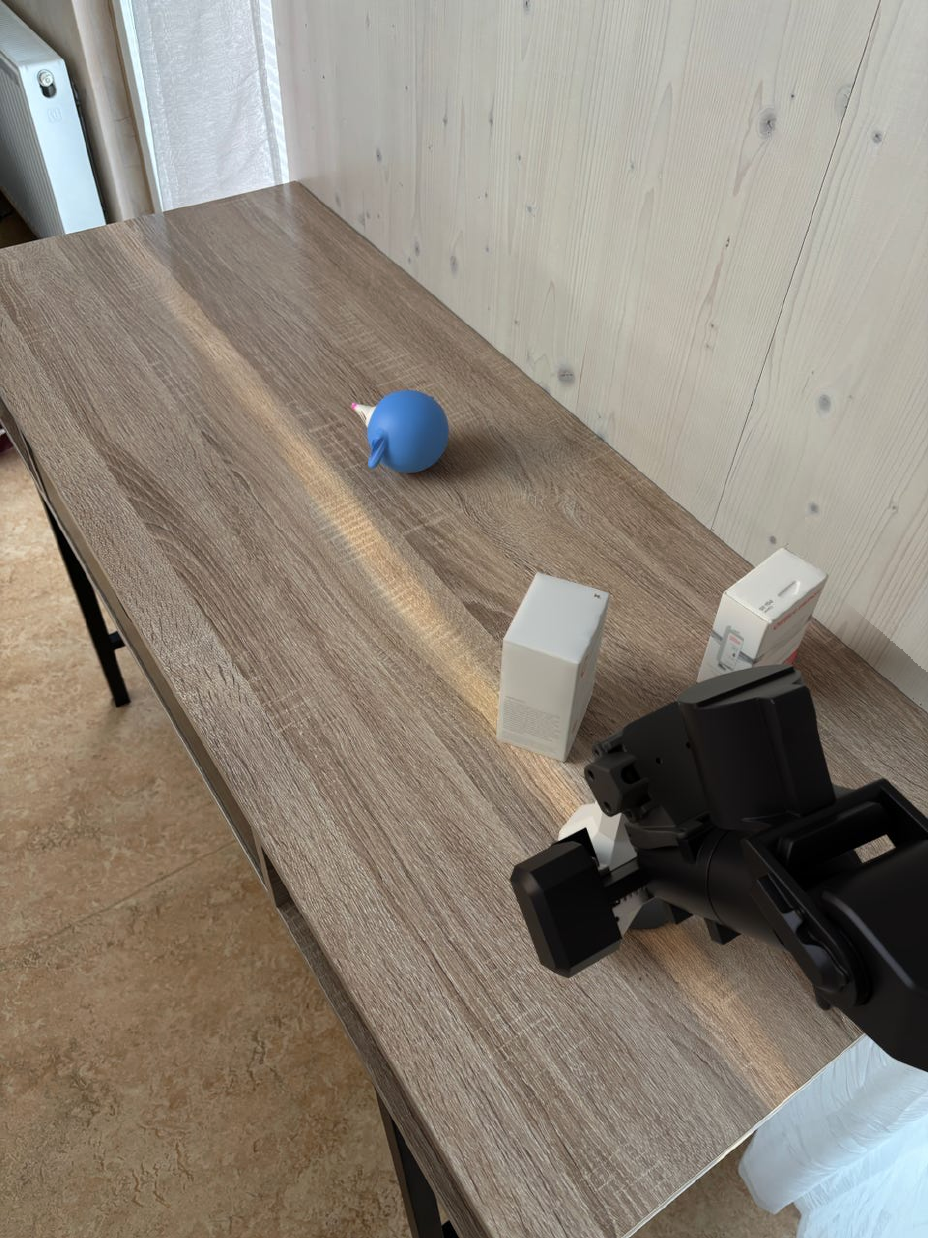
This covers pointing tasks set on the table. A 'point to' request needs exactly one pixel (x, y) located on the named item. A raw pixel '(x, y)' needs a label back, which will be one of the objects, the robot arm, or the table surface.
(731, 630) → the ink box
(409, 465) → the blue mole toy
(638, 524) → the table surface
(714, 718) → the robot arm
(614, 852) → the faceted bottle
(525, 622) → the small box
